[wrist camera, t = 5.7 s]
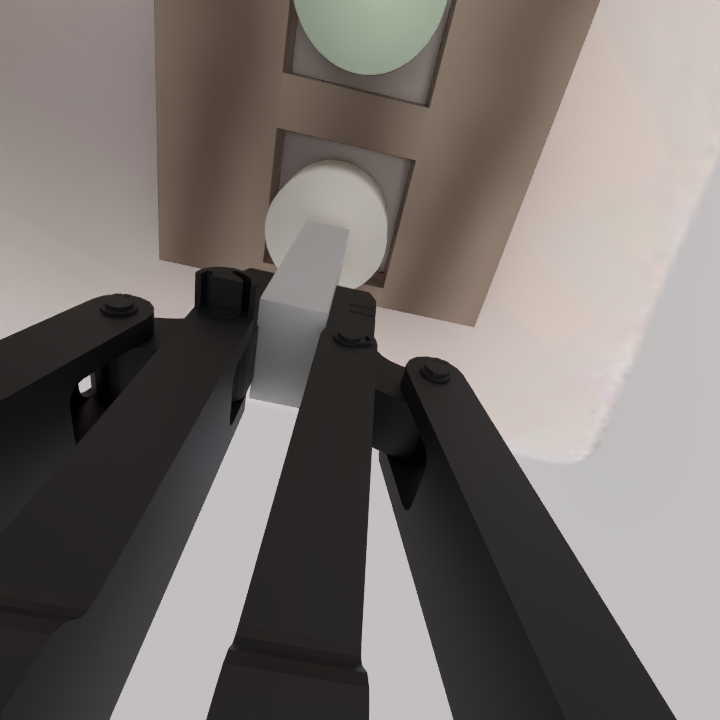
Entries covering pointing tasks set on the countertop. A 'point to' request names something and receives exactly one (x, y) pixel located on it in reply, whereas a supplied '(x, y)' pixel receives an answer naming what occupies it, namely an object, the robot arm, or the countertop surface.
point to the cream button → (332, 215)
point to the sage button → (369, 31)
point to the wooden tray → (360, 137)
